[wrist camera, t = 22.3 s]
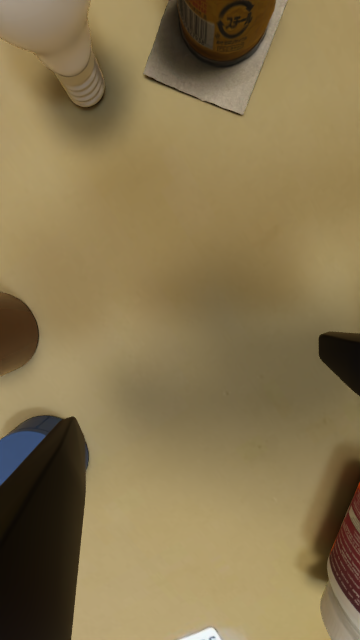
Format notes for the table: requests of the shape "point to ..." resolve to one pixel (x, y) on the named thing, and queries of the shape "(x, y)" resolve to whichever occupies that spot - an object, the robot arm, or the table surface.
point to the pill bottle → (344, 579)
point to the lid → (25, 443)
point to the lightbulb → (56, 42)
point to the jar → (16, 334)
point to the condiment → (214, 48)
